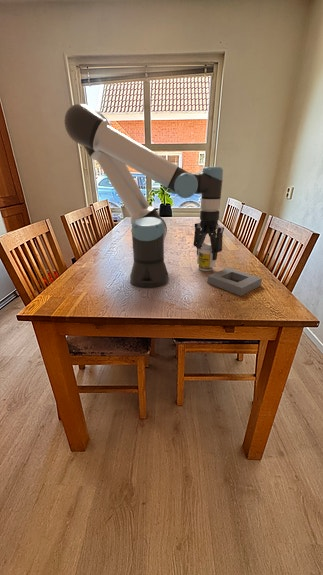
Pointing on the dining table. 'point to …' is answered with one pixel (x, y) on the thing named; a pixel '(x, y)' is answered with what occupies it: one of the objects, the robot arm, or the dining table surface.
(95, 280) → the dining table surface
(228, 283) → the bottle holder
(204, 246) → the pill bottle
